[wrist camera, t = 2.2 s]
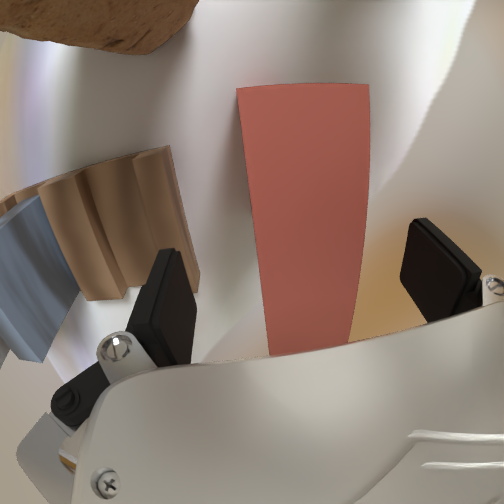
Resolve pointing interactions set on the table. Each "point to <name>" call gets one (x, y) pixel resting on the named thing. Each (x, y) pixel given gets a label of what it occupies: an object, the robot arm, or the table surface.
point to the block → (97, 22)
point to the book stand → (85, 243)
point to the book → (307, 205)
